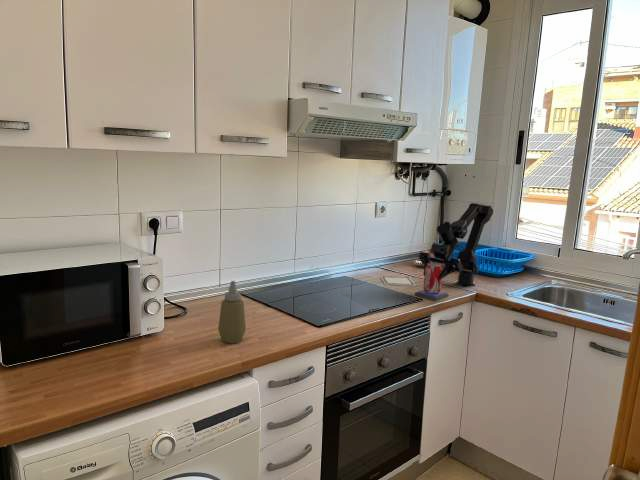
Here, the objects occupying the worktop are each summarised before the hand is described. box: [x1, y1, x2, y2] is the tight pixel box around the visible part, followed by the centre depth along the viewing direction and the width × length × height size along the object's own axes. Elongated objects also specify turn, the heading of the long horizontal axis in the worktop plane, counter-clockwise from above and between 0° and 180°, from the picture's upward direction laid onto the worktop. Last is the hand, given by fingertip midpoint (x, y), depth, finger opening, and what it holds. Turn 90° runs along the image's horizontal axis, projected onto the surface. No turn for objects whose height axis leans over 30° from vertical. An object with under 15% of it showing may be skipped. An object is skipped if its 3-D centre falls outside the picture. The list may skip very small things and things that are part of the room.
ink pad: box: [414, 289, 449, 302], centre depth 197 cm, size 10×10×2 cm
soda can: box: [423, 263, 443, 294], centre depth 196 cm, size 7×7×12 cm
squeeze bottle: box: [217, 280, 247, 344], centre depth 138 cm, size 8×8×18 cm
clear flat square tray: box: [380, 275, 417, 287], centre depth 218 cm, size 14×14×1 cm
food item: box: [421, 250, 445, 270], centre depth 251 cm, size 14×8×10 cm, turn 36°
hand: (431, 277), depth 195 cm, fingers closed on soda can, 7 cm apart
